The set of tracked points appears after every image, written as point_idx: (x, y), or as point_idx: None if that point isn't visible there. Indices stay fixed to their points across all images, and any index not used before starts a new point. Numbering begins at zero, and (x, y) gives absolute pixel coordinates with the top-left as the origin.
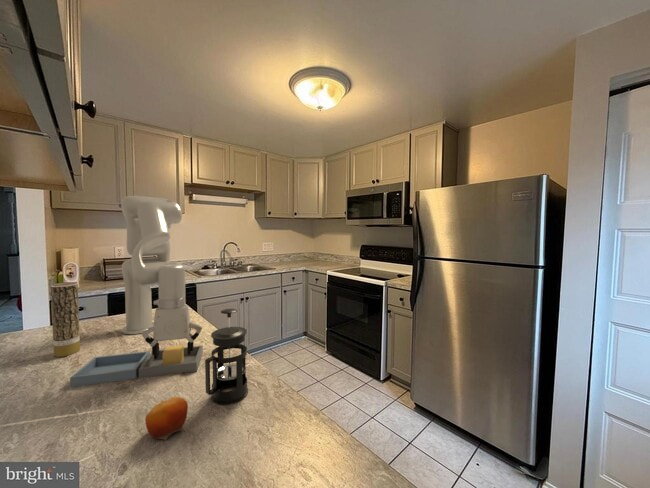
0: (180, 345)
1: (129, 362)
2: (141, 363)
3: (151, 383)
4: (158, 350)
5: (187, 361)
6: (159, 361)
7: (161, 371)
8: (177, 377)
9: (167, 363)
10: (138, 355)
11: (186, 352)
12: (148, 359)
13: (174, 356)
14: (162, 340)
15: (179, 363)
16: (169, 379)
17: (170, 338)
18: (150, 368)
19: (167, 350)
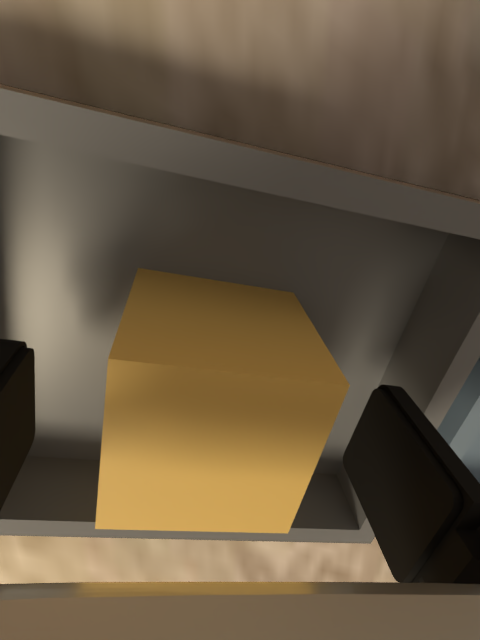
0: (131, 526)
1: (477, 476)
2: (478, 373)
3: (406, 34)
4: (371, 484)
5: (83, 350)
6: None
7: (323, 164)
8: (151, 30)
9: (263, 307)
10: None
11: None
12: (427, 410)
13: (195, 332)
14: (473, 589)
15: (120, 151)
16: (236, 27)
17: (310, 631)
18: (451, 196)
19: (284, 445)
